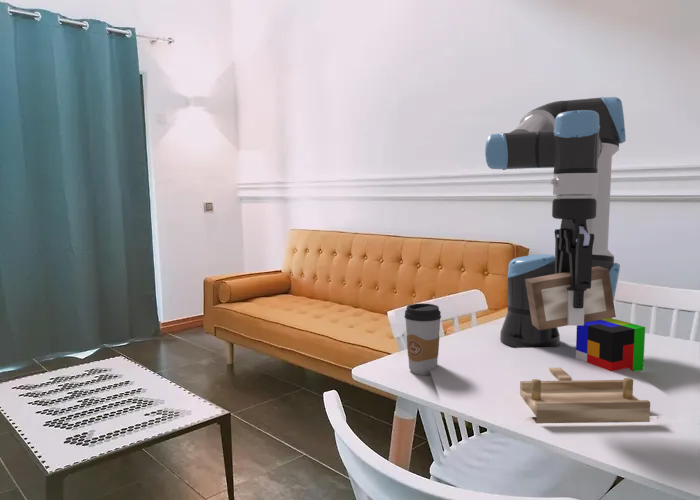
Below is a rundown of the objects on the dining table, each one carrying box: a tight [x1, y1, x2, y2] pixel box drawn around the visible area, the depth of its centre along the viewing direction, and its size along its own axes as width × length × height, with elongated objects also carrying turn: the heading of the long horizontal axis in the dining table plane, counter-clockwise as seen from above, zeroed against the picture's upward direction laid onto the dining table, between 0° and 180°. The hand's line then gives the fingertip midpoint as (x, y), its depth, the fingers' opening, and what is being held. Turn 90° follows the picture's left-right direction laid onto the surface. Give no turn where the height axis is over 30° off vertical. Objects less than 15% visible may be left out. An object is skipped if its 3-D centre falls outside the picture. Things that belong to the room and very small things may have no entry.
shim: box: [548, 367, 572, 381], centre depth 116 cm, size 6×2×2 cm, turn 179°
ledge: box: [519, 377, 651, 424], centre depth 101 cm, size 10×20×6 cm, turn 89°
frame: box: [525, 266, 617, 330], centre depth 101 cm, size 14×4×9 cm, turn 87°
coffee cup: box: [404, 302, 442, 376], centre depth 123 cm, size 8×8×15 cm
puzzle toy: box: [575, 318, 646, 373], centre depth 124 cm, size 10×10×10 cm
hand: (570, 321), depth 101 cm, fingers closed on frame, 5 cm apart
